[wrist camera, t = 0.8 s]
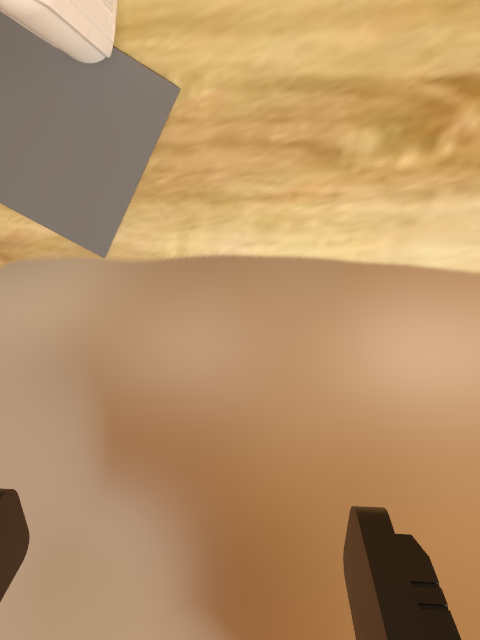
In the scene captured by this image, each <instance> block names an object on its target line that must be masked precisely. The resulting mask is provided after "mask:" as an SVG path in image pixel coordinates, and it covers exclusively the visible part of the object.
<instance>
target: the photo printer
mask: <svg viewBox="0 0 480 640" xmlns="http://www.w3.org/2000/svg"><path fill="white" fill-rule="evenodd" d="M0 11H1V12H2V13H4V14H5V15H7V16H9V17H10V18H12V19H13V20H15V21H16V22H17V23H19V24H20V25H22V26H23V27H25V28H26V29H28V30H29V31H31V32H33V33H34V34H36V35H37V36H38V37H40V38H42V39H43V40H45V41H46V42H48V43H49V44H51V45H52V46H54V47H56V48H58V49H60V50H62V51H63V52H65V53H66V54H68V55H69V56H71V57H72V58H74V59H76V60H78V61H80V62H83V63H97V62H99V61H101V60H103V59H104V58H105V57H108V58H109V57H110V56H111V53H112V48H113V43H114V37H115V26H116V14H117V0H0Z"/></svg>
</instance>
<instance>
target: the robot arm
mask: <svg viewBox="0 0 480 640" xmlns="http://www.w3.org/2000/svg"><path fill="white" fill-rule="evenodd" d="M28 545H29V530H28V527H27V523H26V520H25V516H24V513H23V510H22V506H21V503H20V500H19V496H18V493H17V492H16V491H15V490H14V489H0V602H1V600H2V598H3V596H4V594H5V592H6V591H7V589H8V587H9V585H10V583H11V582H12V580H13V578H14V576H15V575H16V573H17V571H18V569H19V567H20V565H21V564H22V562H23V560H24V557H25V555H26V553H27V549H28ZM343 555H344V556H343V562H344V575H345V581H346V587H347V592H348V598H349V603H350V609H351V614H352V620H353V625H354V631H355V636H356V640H461V638H460V635H459V633H458V630H457V627H456V625H455V622H454V620H453V617H452V615H451V612H450V611H449V610H448V605H447V602H446V599H445V597H444V594H443V592H442V589H441V588H440V587H439V581H438V579H437V576H436V574H435V571H434V569H433V566H432V563H431V561H430V558H429V556H428V555H427V554H426V553H425V551H424V550H423V549H422V548H421V546H420V545H419V544H418V543H417V541H416V540H415V539H414V538H413V536H412V535H405V534H395V532H394V530H393V526H392V523H391V520H390V517H389V515H388V512H387V510H386V509H385V508H379V507H359V506H357V507H356V506H352V507H351V510H350V515H349V521H348V527H347V533H346V539H345V545H344V554H343Z"/></svg>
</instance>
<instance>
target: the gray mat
mask: <svg viewBox="0 0 480 640" xmlns="http://www.w3.org/2000/svg"><path fill="white" fill-rule="evenodd" d="M179 92H180V88H178V87H176V86H175V85H173V84H172V83H170V82H169V81H167V80H165V79H164V78H162V77H161V76H159V75H157V74H156V73H154V72H153V71H151V70H149V69H148V68H146V67H145V66H143V65H141V64H140V63H138V62H137V61H135V60H134V59H132V58H130V57H129V56H127V55H126V54H124V53H122V52H121V51H119V50H118V49H116V48H114V47H113V48H112V53H111V56H110V57H109V58H108V57H105V58H104V59H103V60H101V61H99V62H97V63H83V62H80V61H78V60H76V59H74V58H72V57H71V56H69V55H68V54H66V53H65V52H63V51H62V50H60V49H58V48H56V47H54V46H52V45H51V44H49V43H48V42H46V41H45V40H43V39H42V38H40V37H38V36H37V35H36V34H34V33H33V32H31V31H29V30H28V29H26V28H25V27H23V26H22V25H20V24H19V23H17V22H16V21H15V20H13V19H12V18H10V17H9V16H7V15H5V14H4V13H2V12H1V11H0V203H1V204H3V205H5V206H7V207H9V208H11V209H12V210H14V211H16V212H18V213H20V214H22V215H24V216H26V217H28V218H29V219H31V220H33V221H35V222H37V223H39V224H41V225H43V226H44V227H46V228H48V229H50V230H52V231H54V232H56V233H58V234H60V235H61V236H63V237H65V238H67V239H69V240H71V241H73V242H75V243H76V244H78V245H80V246H82V247H84V248H86V249H88V250H90V251H91V252H93V253H95V254H97V255H99V256H101V257H103V258H104V257H106V255H107V253H108V250H109V248H110V246H111V244H112V242H113V239H114V237H115V235H116V233H117V230H118V228H119V226H120V224H121V221H122V219H123V217H124V215H125V212H126V210H127V208H128V206H129V203H130V201H131V199H132V197H133V194H134V192H135V190H136V188H137V186H138V183H139V181H140V179H141V177H142V174H143V172H144V170H145V168H146V165H147V163H148V161H149V159H150V156H151V154H152V152H153V150H154V147H155V145H156V143H157V141H158V139H159V136H160V134H161V132H162V130H163V127H164V125H165V123H166V121H167V118H168V116H169V114H170V112H171V109H172V107H173V105H174V103H175V100H176V98H177V96H178V94H179Z"/></svg>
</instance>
